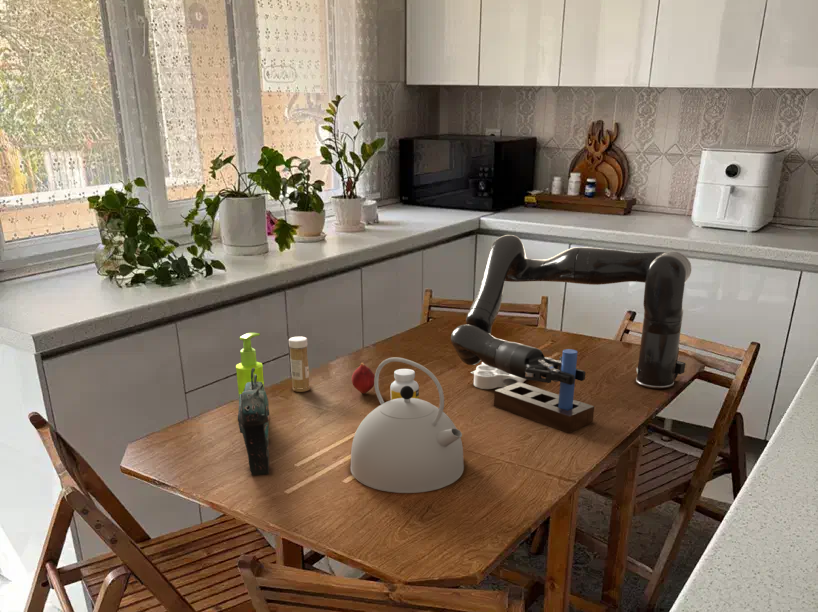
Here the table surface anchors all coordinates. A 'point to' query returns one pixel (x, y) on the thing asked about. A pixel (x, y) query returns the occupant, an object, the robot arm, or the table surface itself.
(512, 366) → the robot arm
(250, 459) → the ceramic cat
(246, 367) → the soap dispenser
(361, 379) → the onion
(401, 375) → the pill bottle
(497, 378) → the white multi-cup tray
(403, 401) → the kettle
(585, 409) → the rack
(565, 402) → the peg
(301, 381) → the sprinkles bottle
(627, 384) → the table surface
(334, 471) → the table surface
